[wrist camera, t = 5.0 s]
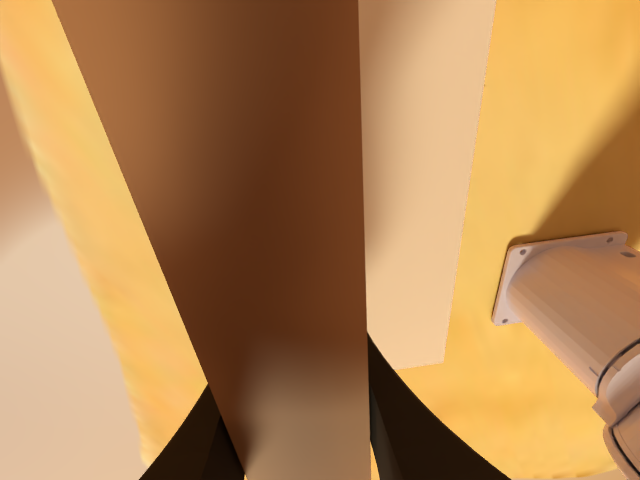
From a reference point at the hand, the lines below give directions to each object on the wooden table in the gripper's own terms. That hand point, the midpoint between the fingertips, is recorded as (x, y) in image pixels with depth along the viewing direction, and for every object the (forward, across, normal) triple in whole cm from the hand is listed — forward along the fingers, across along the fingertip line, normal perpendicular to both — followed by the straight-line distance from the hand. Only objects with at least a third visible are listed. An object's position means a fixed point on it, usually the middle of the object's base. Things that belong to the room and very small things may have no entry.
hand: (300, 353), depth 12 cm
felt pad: (+10, -7, 0) cm, 13 cm away
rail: (0, 0, 0) cm, 0 cm away
